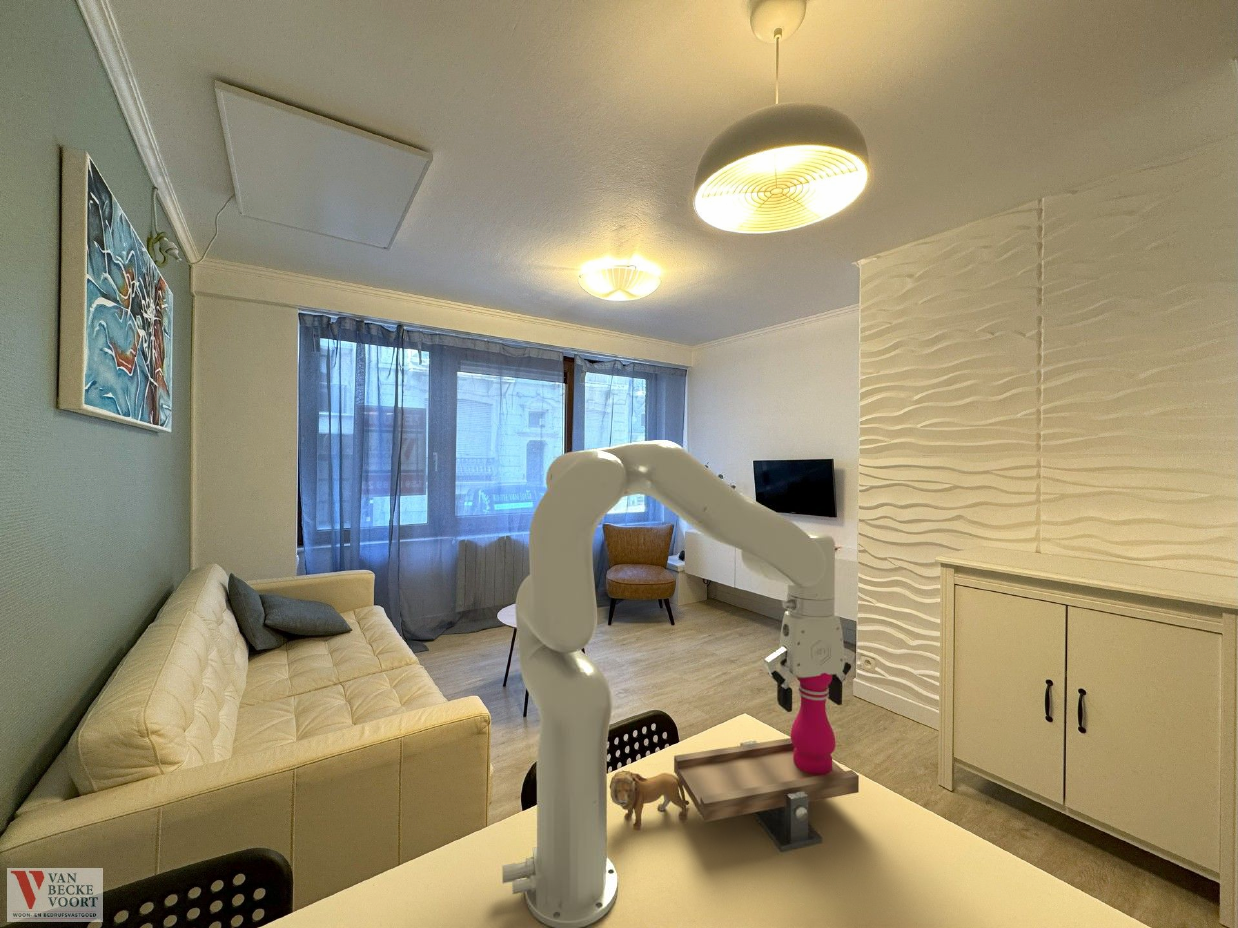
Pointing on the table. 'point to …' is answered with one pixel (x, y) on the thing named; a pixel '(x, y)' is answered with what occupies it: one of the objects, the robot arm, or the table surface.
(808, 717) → the pepper mill
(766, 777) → the balance beam
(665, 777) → the lion figurine
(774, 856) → the table surface
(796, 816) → the beam stand
